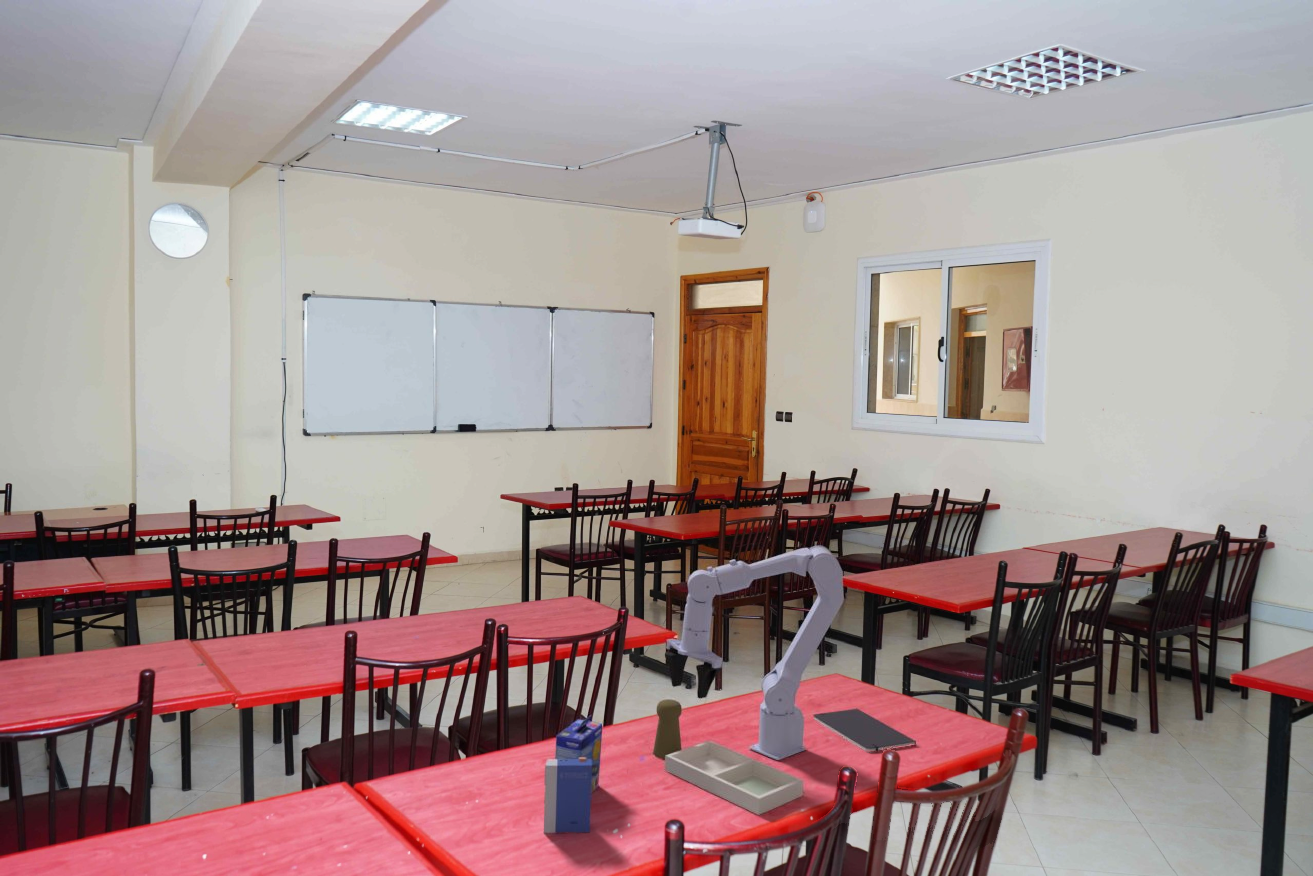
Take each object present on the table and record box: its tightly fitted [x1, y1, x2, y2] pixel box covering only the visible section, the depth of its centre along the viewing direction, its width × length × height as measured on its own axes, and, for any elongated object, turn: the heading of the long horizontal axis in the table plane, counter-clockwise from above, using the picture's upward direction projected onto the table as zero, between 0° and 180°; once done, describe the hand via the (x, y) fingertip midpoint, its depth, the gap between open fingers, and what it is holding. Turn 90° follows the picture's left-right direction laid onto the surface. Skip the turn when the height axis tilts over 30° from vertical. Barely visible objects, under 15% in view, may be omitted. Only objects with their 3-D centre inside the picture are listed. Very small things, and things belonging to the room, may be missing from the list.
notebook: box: [813, 708, 917, 752], centre depth 210 cm, size 13×2×21 cm
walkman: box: [543, 757, 592, 834], centre depth 159 cm, size 8×3×12 cm, turn 96°
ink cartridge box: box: [554, 714, 603, 793], centre depth 173 cm, size 10×6×14 cm, turn 160°
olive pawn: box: [652, 699, 683, 760], centre depth 193 cm, size 6×6×11 cm
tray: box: [664, 740, 804, 816], centre depth 180 cm, size 13×24×3 cm, turn 43°
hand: (689, 691), depth 197 cm, fingers open, 7 cm apart
